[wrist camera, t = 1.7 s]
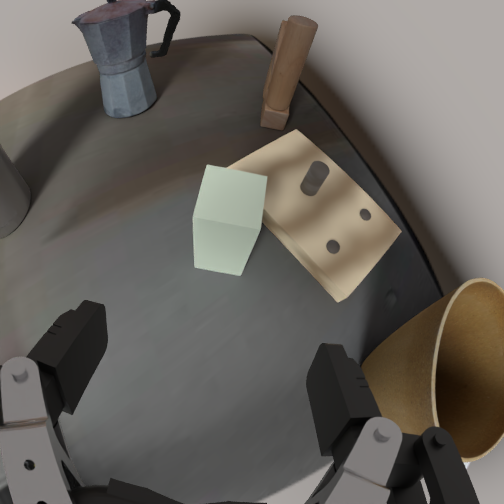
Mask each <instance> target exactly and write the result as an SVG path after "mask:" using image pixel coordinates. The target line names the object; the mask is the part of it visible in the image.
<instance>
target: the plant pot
mask: <svg viewBox="0 0 504 504" xmlns="http://www.w3.org/2000/svg"><path fill="white" fill-rule="evenodd" d="M361 368H362V371H363V373H364V375H365V377H366V378H365V380H367V382H368V384H369V388H370V389H371V391H372V394H373V396H374V398H375V401H376V403H377V405H378V408H379V410H380V412H381V415H382V417H384V418H387V419H390V420H392V421H393V422H394V423H396V424H397V425H398V427H399V428H400V430H401V432H402V433H408V434H414V435H421V434H422V433H423V432H424V431H425V430H426V429H427V428H429V427H432V426H436V427H441V428H443V429H445V430H446V431H447V432H448V433H449V434H450V435H451V437H452V438H453V441H454V443H455V445H456V447H457V449H458V452H459V454H460V456H461V458H462V461H463V462H472V461H475V460H478V459H480V458H482V457H483V456H485V455H486V454H487V453H489V452H490V451H491V450H492V449H494V447H495V446H496V445H497V444H498V443H499V442H500V440H501V439H502V438H503V436H504V290H503V289H502V288H501V287H500V286H498V285H497V284H496V283H495V282H493V281H491V280H489V279H486V278H474V279H471V280H469V281H467V282H465V283H464V284H462V285H461V286H459V287H458V288H456V289H455V290H453V291H451V292H450V293H449V294H447V295H446V296H444V297H443V298H441V299H440V300H438V301H436V302H435V303H433V304H432V305H430V306H429V307H427V308H426V309H425V310H423V311H422V312H420V313H419V314H417V315H416V316H415V317H413V318H412V319H411V320H409V321H408V322H406V323H405V324H404V325H403V326H401V327H400V328H399V329H397V330H396V331H395V332H394V333H392V334H391V335H390V336H389V337H388V338H386V339H385V340H384V341H383V342H382V343H381V344H380V345H379V346H378V347H377V348H376V349H375V350H374V351H373V352H372V353H371V354H370V355H369V356H368V357H367V358H366V359H365V361H364V362H363V364H362V366H361Z"/></svg>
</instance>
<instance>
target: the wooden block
mask: <svg viewBox="0 0 504 504" xmlns="http://www.w3.org/2000/svg"><path fill="white" fill-rule="evenodd" d="M317 28H318V24H317V23H316V22H314V21H313V20H311V19H309V18H306V17H302V16H290V17H289V18H288V21H282V23H281V27H280V30H279V33H278V38H277V41H276V44H275V48H274V52H273V55H272V59H271V62H270V66H269V70H268V74H267V77H266V81H265V85H264V90H263V99H264V100H263V104H262V112H261V122H260V125H261V126H262V127H266V128H271V129H277V130H284V128H285V125H286V122H287V119H288V117H289V106H290V103H291V100H292V97H293V94H294V92H295V89H296V86H297V83H298V81H299V78H300V75H301V72H302V69H303V67H304V64H305V61H306V58H307V56H308V53H309V50H310V47H311V44H312V42H313V39H314V36H315V34H316V31H317Z"/></svg>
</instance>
